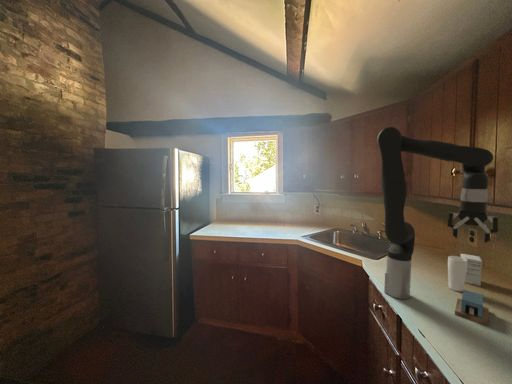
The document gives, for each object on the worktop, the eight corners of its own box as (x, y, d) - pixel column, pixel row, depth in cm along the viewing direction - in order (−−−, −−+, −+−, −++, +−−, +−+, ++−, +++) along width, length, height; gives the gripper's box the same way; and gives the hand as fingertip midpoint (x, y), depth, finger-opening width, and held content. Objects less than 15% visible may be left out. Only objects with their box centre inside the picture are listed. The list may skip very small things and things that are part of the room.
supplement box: (458, 276, 116) (460, 253, 115) (478, 280, 111) (480, 256, 110) (459, 281, 110) (461, 257, 109) (480, 286, 105) (482, 261, 104)
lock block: (462, 300, 91) (463, 289, 91) (482, 306, 87) (483, 294, 87) (461, 311, 84) (461, 299, 84) (481, 318, 80) (482, 305, 80)
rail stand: (454, 314, 85) (455, 304, 85) (457, 301, 93) (458, 292, 93) (488, 325, 78) (489, 315, 78) (488, 311, 87) (489, 301, 86)
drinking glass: (455, 285, 107) (457, 255, 105) (469, 292, 100) (472, 261, 99) (442, 285, 106) (444, 255, 105) (455, 293, 100) (457, 261, 98)
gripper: (499, 200, 84) (496, 241, 86) (450, 197, 95) (448, 234, 96) (500, 202, 79) (496, 246, 81) (448, 199, 89) (445, 238, 91)
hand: (470, 239), depth 88 cm, fingers open, 8 cm apart
